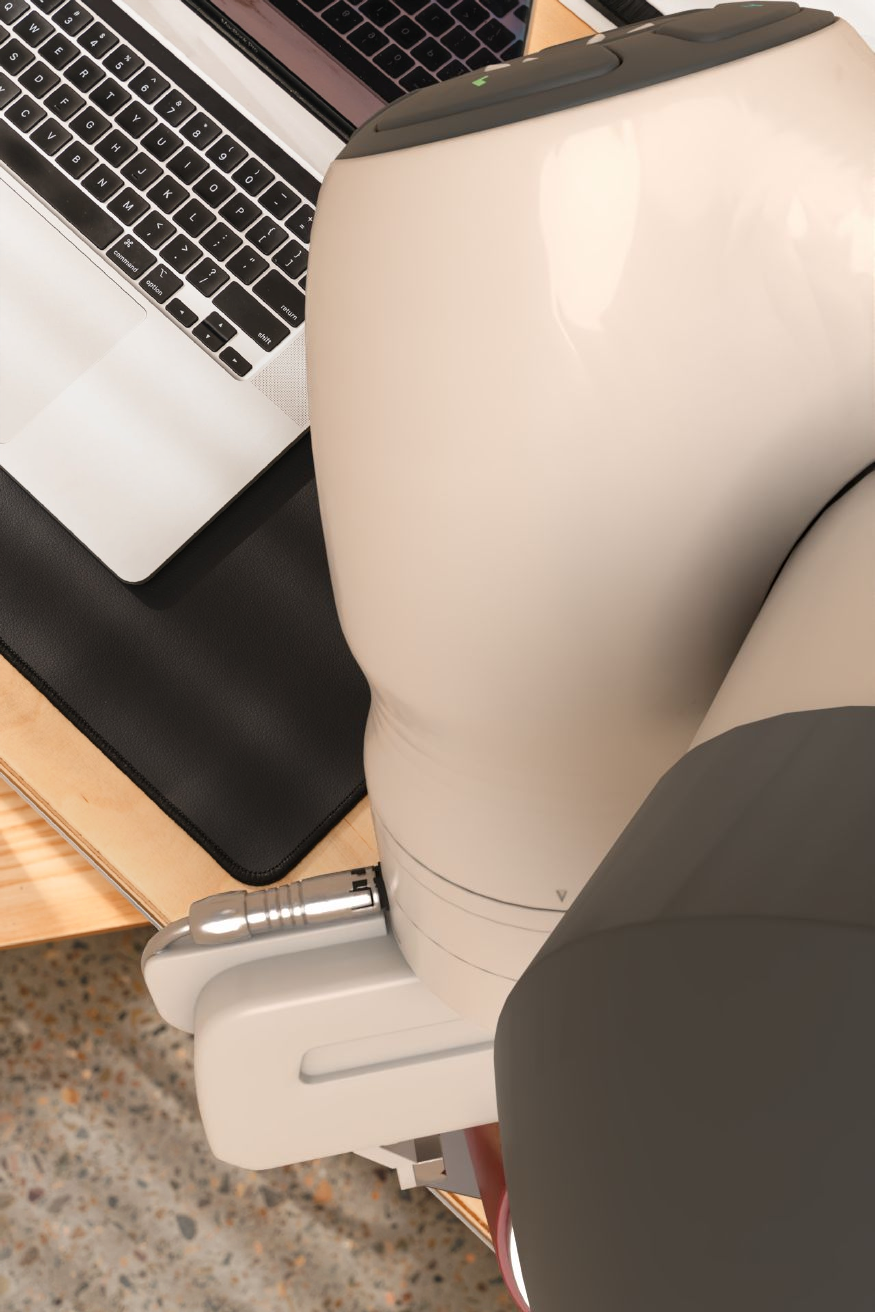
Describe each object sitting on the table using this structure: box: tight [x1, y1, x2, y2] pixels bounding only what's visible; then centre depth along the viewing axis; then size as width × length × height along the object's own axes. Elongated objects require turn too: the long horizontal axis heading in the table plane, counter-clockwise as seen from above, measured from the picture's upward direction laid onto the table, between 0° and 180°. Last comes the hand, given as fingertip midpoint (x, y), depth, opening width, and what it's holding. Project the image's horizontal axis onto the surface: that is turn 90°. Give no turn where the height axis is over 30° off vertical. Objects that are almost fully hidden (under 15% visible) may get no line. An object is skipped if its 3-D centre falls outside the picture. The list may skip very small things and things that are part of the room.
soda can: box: [463, 1122, 531, 1312], centre depth 33 cm, size 6×6×13 cm
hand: (565, 1132), depth 31 cm, fingers open, 8 cm apart
